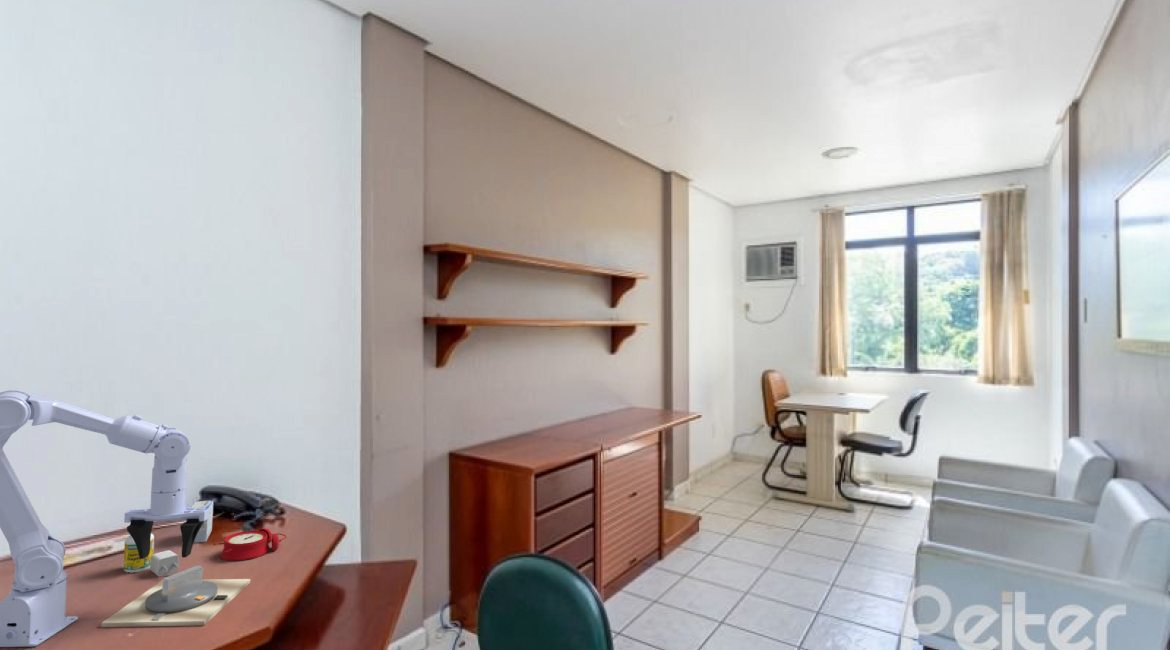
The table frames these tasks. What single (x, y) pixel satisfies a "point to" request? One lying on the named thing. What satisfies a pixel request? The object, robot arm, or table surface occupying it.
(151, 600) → the twist dial
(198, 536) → the medicine box
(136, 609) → the plate
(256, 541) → the alarm clock
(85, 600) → the table surface
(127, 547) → the supplement bottle
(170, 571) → the usb wall charger
